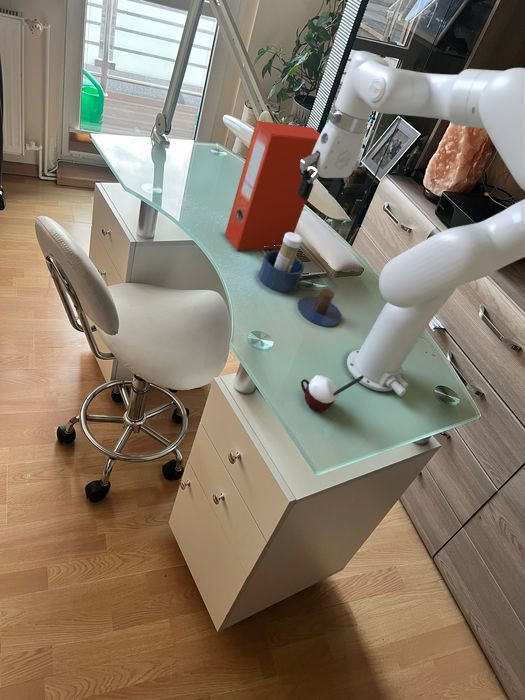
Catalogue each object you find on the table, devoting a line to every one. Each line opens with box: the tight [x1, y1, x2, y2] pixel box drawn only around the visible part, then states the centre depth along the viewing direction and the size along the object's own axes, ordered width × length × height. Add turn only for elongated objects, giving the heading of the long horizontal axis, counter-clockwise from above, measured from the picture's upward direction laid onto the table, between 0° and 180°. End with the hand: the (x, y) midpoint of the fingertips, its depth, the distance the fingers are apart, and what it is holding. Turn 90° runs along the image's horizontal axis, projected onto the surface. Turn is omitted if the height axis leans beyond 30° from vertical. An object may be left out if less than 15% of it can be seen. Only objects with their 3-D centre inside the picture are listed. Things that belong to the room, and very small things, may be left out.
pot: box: [258, 249, 305, 294], centre depth 128 cm, size 10×10×6 cm
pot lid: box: [297, 288, 342, 328], centre depth 123 cm, size 11×11×7 cm
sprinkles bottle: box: [274, 232, 303, 273], centre depth 126 cm, size 5×5×13 cm
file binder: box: [224, 120, 321, 251], centre depth 133 cm, size 8×17×32 cm, turn 121°
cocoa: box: [300, 374, 364, 412], centre depth 97 cm, size 10×6×12 cm, turn 34°
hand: (317, 196), depth 114 cm, fingers open, 9 cm apart
